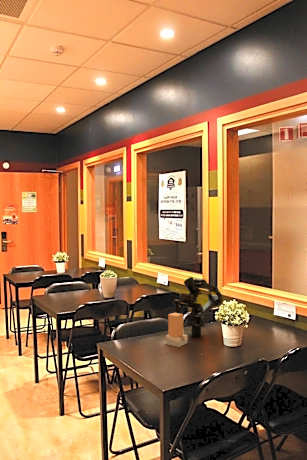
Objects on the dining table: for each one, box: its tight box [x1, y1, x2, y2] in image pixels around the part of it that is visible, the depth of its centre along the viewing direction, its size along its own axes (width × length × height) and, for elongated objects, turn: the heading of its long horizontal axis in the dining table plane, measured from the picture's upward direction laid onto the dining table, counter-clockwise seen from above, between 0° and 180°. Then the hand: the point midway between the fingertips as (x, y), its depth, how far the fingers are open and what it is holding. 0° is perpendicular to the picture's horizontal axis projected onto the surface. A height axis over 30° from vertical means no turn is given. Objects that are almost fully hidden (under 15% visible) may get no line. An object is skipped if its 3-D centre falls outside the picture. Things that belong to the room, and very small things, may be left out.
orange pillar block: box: [167, 312, 184, 337], centre depth 239 cm, size 6×6×12 cm
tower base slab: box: [165, 339, 188, 348], centre depth 240 cm, size 9×9×2 cm
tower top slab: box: [165, 333, 189, 343], centre depth 240 cm, size 9×9×2 cm
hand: (181, 317), depth 243 cm, fingers open, 9 cm apart
